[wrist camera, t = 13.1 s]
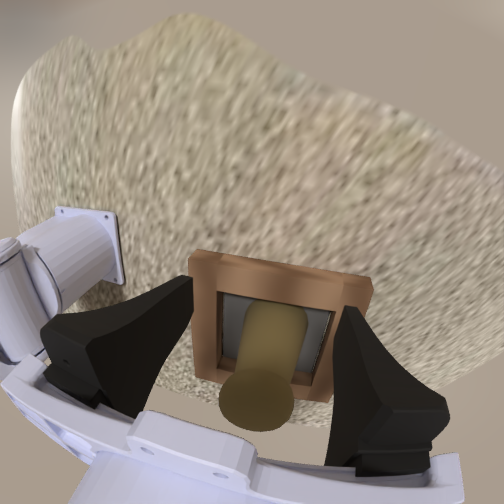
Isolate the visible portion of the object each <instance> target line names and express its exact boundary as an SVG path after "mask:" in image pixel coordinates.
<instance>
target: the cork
mask: <svg viewBox="0 0 504 504" xmlns="http://www.w3.org/2000/svg"><path fill="white" fill-rule="evenodd" d="M308 325H309V322H308V316H307V314H306V312H305V311H304V309H303V307H301V306H299V305H293V304H287V303H281V302H275V301H270V300H264V299H256V300H254V301H253V302H252V303H251V304H250V305H249V306H248V308H247V310H246V312H245V316H244V322H243V328H242V333H241V339H240V345H239V351H238V357H237V362H236V368H235V373H234V374H232V375H231V376H229V377H228V379H227V380H226V381H225V383H224V384H223V386H222V388H221V390H220V393H219V407H220V410H221V412H222V414H223V416H224V417H225V418H226V419H227V420H228V421H229V422H231V423H233V424H234V425H236V426H238V427H240V428H243V429H246V430H250V431H260V432H263V431H271V430H275V429H277V428H280V427H281V426H282V425H283V424H284V423H285V422H286V421H288V420H289V418H290V416H291V414H292V411H293V408H294V396H293V392H292V388H291V387H290V383H291V380H292V377H293V374H294V371H295V368H296V364H297V361H298V358H299V355H300V352H301V349H302V346H303V342H304V339H305V336H306V332H307V329H308Z"/></svg>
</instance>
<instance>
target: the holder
mask: <svg viewBox="0 0 504 504" xmlns="http://www.w3.org/2000/svg"><path fill="white" fill-rule="evenodd" d="M188 274H189V276H190V277H193V293H194V312H193V315H192V317H191V329H192V343H193V355H194V366H195V376H196V377H197V378H201V379H204V380H208V381H212V382H216V383H220V384H224V383H225V381H226V380H227V379H228V377H229V376H231V375H232V374H234V373H235V368H236V362H237V357H238V351H239V345H240V339H241V333H242V328H243V322H244V316H245V312H246V310H247V308H248V306H249V305H250V304H251V303H252V302H253V301H254V300H256V299H264V300H270V301H275V302H281V303H287V304H293V305H299V306H301V307H303V309H304V311H305V312H306V314H307V316H308V322H309V325H308V329H307V332H306V336H305V339H304V342H303V346H302V349H301V352H300V355H299V358H298V361H297V364H296V368H295V371H294V374H293V377H292V380H291V383H290V387H291V388H292V392H293V396H294V398H295V399H302V400H309V401H317V402H326V403H328V402H329V400H330V398H331V396H332V394H333V392H334V384H333V362H332V353H333V340H334V336H335V333H336V330H337V327H338V324H339V321H340V318H341V315H342V312H343V308H344V305H348V306H354V307H357V308H358V309H359V311H360V312H361V314H362V315H363V317H365V314H366V312H367V309H368V306H369V303H370V300H371V297H372V294H373V291H374V289H373V285H372V282H371V278H370V277H365V276H358V275H352V274H346V273H340V272H333V271H327V270H321V269H315V268H309V267H303V266H296V265H290V264H284V263H278V262H272V261H266V260H260V259H254V258H248V257H242V256H236V255H230V254H224V253H218V252H212V251H206V250H200V249H197V250H196V251H195V252H194V253H193V254H192V255H191V256H190V257H189V258H188ZM223 292H225V297H224V338H223V356H222V320H223ZM330 310H331V311H332V312H331V316H330V319H329V323H328V326H327V329H326V333H325V336H324V339H323V342H322V345H321V349H320V352H319V355H318V358H317V361H316V364H315V367H314V370H313V373H311V371H312V368H313V365H314V362H315V359H316V356H317V353H318V350H319V346H320V343H321V340H322V337H323V333H324V330H325V327H326V323H327V320H328V316H329V313H330Z"/></svg>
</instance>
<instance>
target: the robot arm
mask: <svg viewBox="0 0 504 504" xmlns="http://www.w3.org/2000/svg"><path fill="white" fill-rule="evenodd" d="M107 216H108V218H107ZM100 280H105V281H108V282H112V283H116V284H119V285H122V284H123V283H124V275H123V269H122V262H121V255H120V247H119V239H118V230H117V221H116V215H115V214H114V213H113V212H107V211H99V210H90V209H82V208H73V207H64V206H57V207H55V216H54V217H52V218H50V219H48V220H46V221H44V222H42V223H40V224H38V225H36V226H34V227H32V228H30V229H28V230H27V231H25V232H23V233H21V234H20V235H19V236H18V237H17V238H16V239H14V238H12V237H8V238H4V239H2V240H0V380H3V381H2V382H1V387H2V388H3V389H4V391H5V392H6V394H7V395H8V396H9V398H10V399H11V400H12V402H13V403H14V404H15V406H16V407H17V408H18V409H19V410H20V412H21V413H22V414H23V415H24V416H25V417H26V418H27V419H28V420H29V421H31V422H32V423H33V424H34V425H35V426H37V427H38V428H39V429H40V430H41V431H43V432H44V433H45V434H46V435H48V436H49V437H50V438H52V439H53V440H54V441H55V442H57V443H58V444H59V445H61V446H62V447H63V448H65V449H66V450H67V451H69V452H70V453H72V454H73V455H75V456H76V457H77V458H79V459H80V460H82V461H84V462H85V463H86V464H88V465H89V466H90V467H89V468H88V470H87V472H86V474H85V475H84V477H83V478H82V480H81V482H80V483H79V485H78V487H77V488H76V490H75V492H74V494H73V495H72V497H71V499H70V500H69V502H68V504H461V503H463V502H464V500H465V498H464V489H463V481H462V474H461V467H460V461H459V456H458V452H453V453H447V454H440V455H435V456H433V457H431V458H430V457H429V451H431V450H432V442H431V441H432V440H433V439H434V438H435V437H437V435H439V434H440V433H441V431H443V430H444V428H445V427H446V426H447V425H448V423H449V420H450V414H449V410H448V406H447V402H446V399H445V398H444V397H443V396H441V395H440V394H438V393H436V392H435V391H433V390H431V389H430V388H428V387H427V386H425V385H424V384H423V383H421V382H420V381H418V380H417V379H416V378H415V377H413V376H412V375H411V374H410V373H409V372H408V371H407V370H405V369H404V368H403V367H402V366H401V365H400V364H399V363H398V362H397V361H396V360H395V359H394V358H393V356H392V355H391V354H390V353H389V352H388V351H387V350H386V348H385V347H384V346H383V345H382V343H381V342H380V341H379V339H378V338H377V337H376V335H375V334H374V332H373V331H372V329H371V328H370V326H369V325H368V323H367V322H366V320H365V318H364V317H363V315H362V314H361V312H360V311H359V309H358V308H357V307H354V306H348V305H344V308H343V312H342V315H341V318H340V321H339V324H338V327H337V330H336V333H335V336H334V340H333V353H332V362H333V384H334V405H333V415H332V423H331V431H330V437H329V444H328V450H327V454H326V459H325V464H324V466H318V465H308V464H299V463H291V462H284V461H277V460H272V459H266V458H260V457H257V455H258V453H257V450H256V448H255V446H254V445H253V444H251V443H250V442H248V441H247V440H245V439H244V438H241V437H238V436H235V435H233V434H230V433H226V432H222V431H219V430H215V429H211V428H208V427H204V426H200V425H197V424H194V423H191V422H188V421H184V420H181V419H178V418H175V417H172V416H170V415H167V414H164V413H161V412H156V411H152V410H147V411H143V409H144V407H145V404H146V402H147V399H148V396H149V394H150V392H151V389H152V387H153V385H154V383H155V380H156V378H157V376H158V374H159V372H160V370H161V368H162V366H163V364H164V362H165V360H166V359H167V357H168V356H169V354H170V353H171V351H172V349H173V348H174V346H175V345H176V343H177V342H178V340H179V339H180V337H181V336H182V334H183V332H184V331H185V329H186V328H187V326H188V324H189V321H190V319H191V317H192V315H193V312H194V293H193V277H190V276H185V275H180V276H178V277H176V278H174V279H172V280H170V281H168V282H166V283H164V284H162V285H160V286H158V287H156V288H154V289H152V290H150V291H148V292H146V293H144V294H141V295H139V296H137V297H135V298H132V299H130V300H127V301H125V302H122V303H119V304H116V305H112V306H109V307H105V308H101V309H97V310H92V311H86V312H78V313H66V314H62V313H63V312H64V311H65V310H66V309H68V308H69V307H70V306H71V305H72V304H73V303H74V302H75V301H77V300H78V299H79V298H80V297H81V296H82V295H83V294H85V293H86V292H87V291H88V290H89V289H90V288H92V287H93V286H94V285H95V284H96V283H98V282H99V281H100ZM48 357H49V358H50V360H51V362H52V363H51V364H50V365H49V366H47V365H46V364H45V363H44V361H45V360H46V359H47V358H48Z"/></svg>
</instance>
